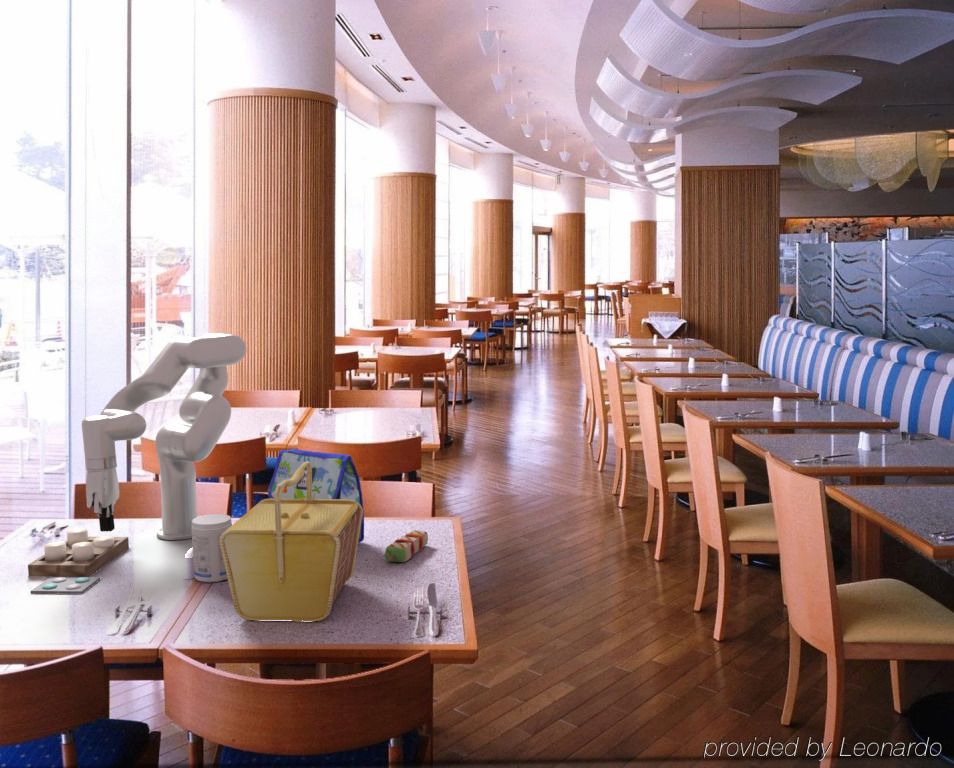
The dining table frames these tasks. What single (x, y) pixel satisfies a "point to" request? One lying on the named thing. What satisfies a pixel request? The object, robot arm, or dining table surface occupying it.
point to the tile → (66, 585)
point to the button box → (78, 567)
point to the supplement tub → (209, 547)
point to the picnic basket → (291, 554)
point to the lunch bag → (318, 477)
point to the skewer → (406, 546)
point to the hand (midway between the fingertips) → (107, 530)
